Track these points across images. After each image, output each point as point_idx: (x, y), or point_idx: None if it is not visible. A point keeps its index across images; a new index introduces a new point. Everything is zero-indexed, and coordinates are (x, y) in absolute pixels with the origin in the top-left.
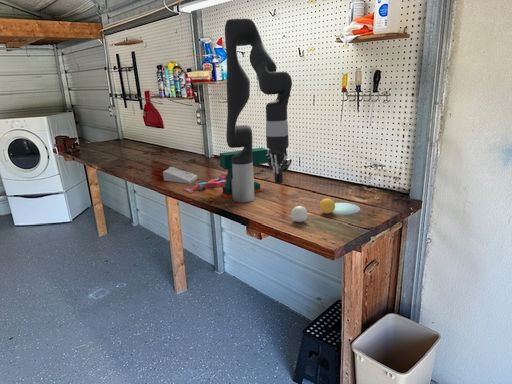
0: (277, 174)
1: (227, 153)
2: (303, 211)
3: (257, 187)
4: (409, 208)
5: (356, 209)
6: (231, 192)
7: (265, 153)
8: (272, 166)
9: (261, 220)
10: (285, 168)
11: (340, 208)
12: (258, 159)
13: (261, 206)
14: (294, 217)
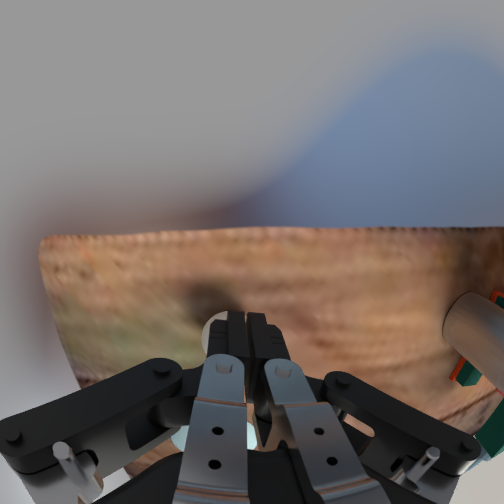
0: (227, 354)
1: None
2: (205, 345)
3: (462, 375)
4: (130, 475)
5: (184, 446)
6: None
7: (491, 448)
8: (345, 410)
9: (335, 246)
10: (145, 427)
11: None
12: (498, 423)
13: (405, 322)
14: (226, 312)
